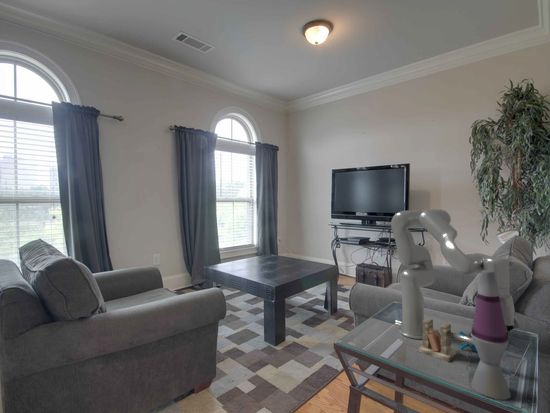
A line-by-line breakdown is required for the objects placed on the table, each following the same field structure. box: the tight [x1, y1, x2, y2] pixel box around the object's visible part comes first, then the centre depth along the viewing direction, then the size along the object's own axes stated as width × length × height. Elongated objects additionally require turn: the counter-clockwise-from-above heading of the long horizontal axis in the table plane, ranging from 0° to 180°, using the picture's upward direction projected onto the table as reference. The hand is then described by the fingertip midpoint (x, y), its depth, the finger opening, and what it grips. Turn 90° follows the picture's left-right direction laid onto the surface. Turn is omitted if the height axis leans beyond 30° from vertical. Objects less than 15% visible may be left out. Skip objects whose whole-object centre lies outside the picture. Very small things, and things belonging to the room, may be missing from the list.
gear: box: [458, 330, 477, 352], centre depth 125 cm, size 11×6×10 cm
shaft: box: [447, 331, 475, 345], centre depth 113 cm, size 19×3×9 cm, turn 42°
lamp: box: [470, 270, 512, 401], centre depth 98 cm, size 11×11×40 cm
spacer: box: [428, 329, 441, 351], centre depth 123 cm, size 2×6×6 cm, turn 132°
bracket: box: [417, 317, 458, 363], centre depth 123 cm, size 12×10×12 cm
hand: (497, 339), depth 107 cm, fingers closed on shaft, 3 cm apart
